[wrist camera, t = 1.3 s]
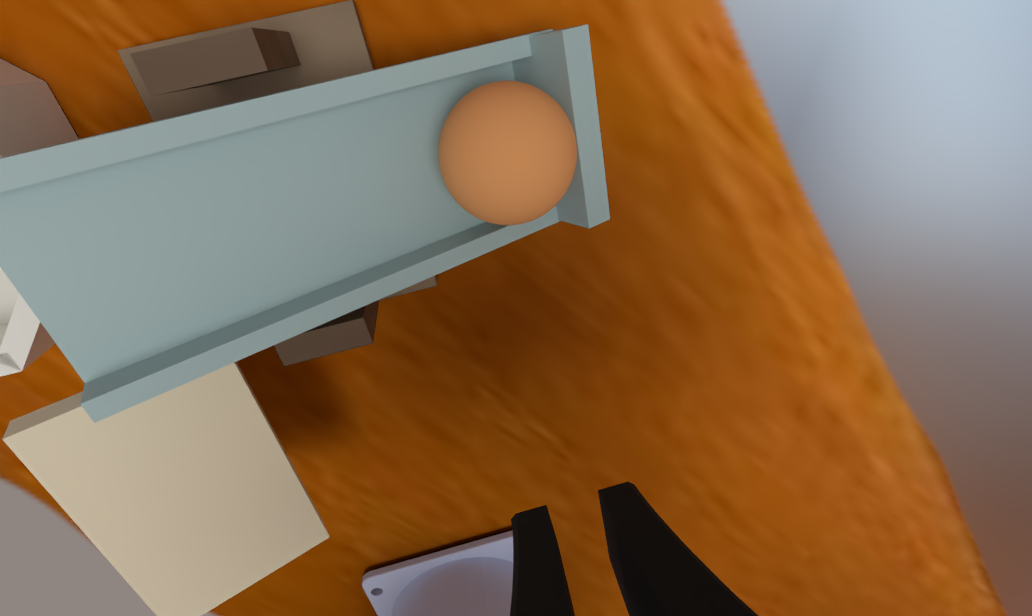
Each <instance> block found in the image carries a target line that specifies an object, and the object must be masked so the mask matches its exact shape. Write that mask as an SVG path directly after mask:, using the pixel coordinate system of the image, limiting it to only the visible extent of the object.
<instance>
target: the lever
mask: <svg viewBox="0 0 1032 616" xmlns="http://www.w3.org/2000/svg"><path fill="white" fill-rule="evenodd" d="M498 81H518V82H523V83H526V84H530V85H533V86H535V87H537V88H539V89H541V90H542V91H544V92H545V93H547V94H548V95H549V96H551V97H552V98H553V99H554V100H555V101H556V102H557V103H558V104H559V105H560V106H561V108H562V109H563V110H564V112H565V113H566V115H567V117H568V119H569V121H570V123H571V125H572V128H573V131H574V134H575V138H576V144H577V162H576V168H575V172H574V176H573V179H572V181H571V184H570V186H569V188H568V190H567V192H566V193H565V195H564V196H563V197H562V199H561V200H560V201H559V202H558V203H557V204H556V206H554V207H553V208H552V209H551V210H550V211H549V212H547V213H546V214H544V215H543V216H541V217H539V218H537V219H535V220H533V221H530V222H527V223H523V224H519V225H498V224H492V223H489V222H486V221H483V220H481V219H478V218H476V217H475V216H473V215H472V214H470V213H468V212H467V211H466V210H464V209H463V208H462V207H461V206H460V205H459V204H458V203H457V202H456V201H455V199H454V198H453V197H452V195H451V194H450V192H449V191H448V189H447V187H446V185H445V183H444V181H443V178H442V175H441V172H440V167H439V158H438V146H439V139H440V134H441V131H442V127H443V125H444V123H445V120H446V118H447V116H448V115H449V113H450V112H451V110H452V109H453V107H454V106H455V105H456V104H457V103H458V102H459V101H460V100H461V99H462V98H463V97H464V96H465V95H466V94H468V93H469V92H471V91H472V90H474V89H476V88H478V87H480V86H482V85H485V84H488V83H492V82H498ZM609 219H610V212H609V204H608V195H607V186H606V178H605V169H604V160H603V151H602V143H601V134H600V125H599V116H598V108H597V99H596V90H595V82H594V73H593V64H592V55H591V47H590V38H589V29H588V24H587V25H582V26H576V27H571V28H566V29H560V30H555V31H553V29H549V30H543V31H538V32H533V33H528V34H524V35H520V36H516V37H511V38H507V39H503V40H499V41H494V42H490V43H486V44H482V45H477V46H473V47H469V48H465V49H460V50H456V51H452V52H447V53H443V54H439V55H435V56H430V57H426V58H422V59H418V60H413V61H409V62H405V63H401V64H396V65H392V66H388V67H384V68H379V69H375V70H371V71H367V72H362V73H358V74H354V75H349V76H345V77H341V78H337V79H332V80H328V81H324V82H320V83H315V84H311V85H307V86H303V87H298V88H294V89H290V90H286V91H281V92H277V93H273V94H269V95H264V96H260V97H256V98H251V99H247V100H243V101H239V102H234V103H230V104H226V105H222V106H217V107H213V108H209V109H205V110H200V111H196V112H192V113H188V114H183V115H179V116H175V117H170V118H166V119H162V120H158V121H153V122H149V123H145V124H141V125H136V126H132V127H128V128H124V129H119V130H115V131H111V132H107V133H102V134H98V135H94V136H90V137H85V138H81V139H77V140H72V141H68V142H64V143H60V144H55V145H51V146H47V147H43V148H38V149H34V150H30V151H26V152H21V153H17V154H13V155H9V156H4V157H0V267H1V269H2V270H3V271H4V273H5V274H6V275H7V277H8V278H9V280H10V281H11V282H12V284H13V285H14V286H15V288H16V289H17V291H18V292H19V293H20V295H21V296H22V297H23V299H24V300H25V302H26V303H27V304H28V306H29V307H30V308H31V310H32V311H33V313H34V314H35V315H36V317H37V318H38V319H39V321H40V322H41V324H42V325H43V326H44V328H45V329H46V330H47V332H48V333H49V335H50V336H51V337H52V339H53V340H54V341H55V343H56V344H57V346H58V347H59V348H60V350H61V351H62V352H63V354H64V355H65V357H66V358H67V359H68V361H69V362H70V363H71V365H72V366H73V368H74V369H75V370H76V372H77V373H78V374H79V376H80V377H81V379H82V380H83V381H84V383H85V386H84V390H83V392H80V393H78V394H75V395H73V396H70V397H68V398H65V399H63V400H60V401H58V402H56V403H53V404H51V405H48V406H46V407H43V408H41V409H38V410H36V411H34V412H31V413H29V414H26V415H24V416H21V417H19V418H16V419H14V420H12V421H10V423H9V425H8V427H7V429H6V432H5V434H4V436H3V439H2V440H3V441H4V442H5V443H6V444H7V445H8V447H9V448H10V449H11V450H12V451H13V452H14V453H15V454H16V456H17V457H18V458H19V459H20V460H21V461H22V462H23V464H24V465H25V466H26V467H27V468H28V469H29V470H30V472H31V473H32V474H33V475H34V476H35V477H36V478H37V480H38V481H39V482H40V483H41V484H42V485H43V486H44V488H45V489H46V490H47V491H48V492H49V493H50V494H51V496H52V497H53V498H54V499H55V500H56V501H57V502H58V504H59V505H60V506H61V507H62V508H63V509H64V510H65V512H66V513H67V514H68V515H69V516H70V517H71V518H72V520H73V521H74V522H75V523H76V524H77V525H78V526H79V528H80V529H81V530H82V531H83V532H84V533H85V534H86V536H87V537H88V538H89V539H90V540H91V541H92V542H93V544H94V545H95V546H96V547H97V548H98V549H99V550H100V552H101V553H102V554H103V555H104V556H105V557H106V558H107V560H108V561H109V562H110V563H111V564H112V565H113V566H114V567H115V569H116V570H117V571H118V572H119V573H120V574H121V576H122V577H123V578H124V579H125V580H126V581H127V582H128V583H129V585H130V586H131V587H132V588H133V589H134V590H135V591H136V592H137V594H138V595H139V596H140V597H141V598H142V599H143V601H144V602H145V603H146V604H147V605H148V606H149V607H150V609H151V610H152V611H153V612H154V613H155V614H156V615H157V616H202V615H203V614H205V613H206V612H208V611H210V610H211V609H213V608H215V607H216V606H218V605H220V604H221V603H223V602H224V601H226V600H228V599H229V598H231V597H233V596H234V595H236V594H238V593H239V592H241V591H242V590H244V589H246V588H247V587H249V586H251V585H252V584H254V583H256V582H257V581H259V580H260V579H262V578H264V577H265V576H267V575H269V574H270V573H272V572H274V571H275V570H277V569H278V568H280V567H282V566H283V565H285V564H287V563H288V562H290V561H291V560H293V559H295V558H296V557H298V556H300V555H301V554H303V553H305V552H306V551H308V550H309V549H311V548H313V547H314V546H316V545H318V544H319V543H321V542H323V541H324V540H326V539H327V538H329V537H330V536H329V534H328V532H327V529H326V527H325V524H324V522H323V520H322V518H321V516H320V514H319V513H318V511H317V509H316V507H315V505H314V503H313V502H312V500H311V498H310V496H309V494H308V492H307V490H306V489H305V487H304V485H303V483H302V481H301V479H300V478H299V476H298V474H297V472H296V470H295V468H294V467H293V465H292V463H291V461H290V459H289V457H288V455H287V454H286V452H285V450H284V448H283V446H282V444H281V443H280V441H279V439H278V437H277V435H276V433H275V432H274V430H273V428H272V426H271V424H270V422H269V421H268V419H267V417H266V415H265V413H264V411H263V409H262V408H261V406H260V404H259V402H258V400H257V398H256V397H255V395H254V393H253V391H252V389H251V387H250V386H249V384H248V382H247V380H246V378H245V376H244V375H243V373H242V371H241V369H240V367H239V365H238V363H237V362H236V361H239V360H241V359H243V358H246V357H248V356H250V355H252V354H255V353H257V352H259V351H262V350H264V349H266V348H269V347H271V346H273V345H276V344H278V343H280V342H282V341H285V340H287V339H289V338H292V337H294V336H296V335H299V334H301V333H303V332H306V331H308V330H310V329H312V328H315V327H317V326H319V325H322V324H324V323H326V322H329V321H331V320H333V319H336V318H338V317H340V316H342V315H345V314H347V313H349V312H352V311H354V310H356V309H359V308H361V307H363V306H366V305H368V304H370V303H372V302H375V301H377V300H379V299H382V298H384V297H386V296H389V295H391V294H393V293H396V292H398V291H400V290H402V289H405V288H407V287H409V286H412V285H414V284H416V283H419V282H421V281H423V280H425V279H428V278H430V277H432V276H435V275H437V274H439V273H442V272H444V271H446V270H449V269H451V268H453V267H455V266H458V265H460V264H462V263H465V262H467V261H469V260H472V259H474V258H476V257H479V256H481V255H483V254H485V253H488V252H490V251H492V250H495V249H497V248H499V247H502V246H504V245H506V244H509V243H511V242H513V241H515V240H518V239H520V238H522V237H525V236H527V235H529V234H532V233H534V232H536V231H539V230H541V229H543V228H545V227H548V226H550V225H552V224H555V223H557V222H559V221H564V222H567V223H571V224H574V225H578V226H582V227H585V228H592V227H594V226H596V225H598V224H600V223H603V222H605V221H607V220H609Z"/></svg>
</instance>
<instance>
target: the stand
mask: <svg viewBox="0 0 1032 616" xmlns="http://www.w3.org/2000/svg"><path fill="white" fill-rule="evenodd" d="M117 51H118V53H119V55H120V57H121V59H122V61H123V63H124V65H125V67H126V69H127V71H128V73H129V75H130V77H131V79H132V81H133V83H134V85H135V87H136V89H137V91H138V93H139V95H140V97H141V99H142V101H143V103H144V105H145V107H146V109H147V111H148V113H149V115H150V117H151V119H152V121H158V120H162V119H166V118H170V117H175V116H179V115H183V114H188V113H192V112H196V111H200V110H205V109H209V108H213V107H217V106H222V105H226V104H230V103H234V102H239V101H243V100H247V99H251V98H256V97H260V96H264V95H269V94H273V93H277V92H281V91H286V90H290V89H294V88H298V87H303V86H307V85H311V84H315V83H320V82H324V81H328V80H332V79H337V78H341V77H345V76H349V75H354V74H358V73H362V72H367V71H371V70H375V69H374V66H373V63H372V59H371V56H370V52H369V49H368V46H367V42H366V39H365V36H364V32H363V29H362V26H361V22H360V19H359V15H358V12H357V9H356V5H355V2H354V1H353V0H349V1H344V2H340V3H335V4H330V5H326V6H321V7H317V8H312V9H307V10H303V11H298V12H293V13H289V14H284V15H279V16H275V17H270V18H265V19H261V20H256V21H252V22H247V23H242V24H238V25H233V26H228V27H224V28H219V29H214V30H210V31H205V32H200V33H196V34H191V35H187V36H182V37H177V38H173V39H168V40H163V41H159V42H154V43H149V44H145V45H140V46H135V47H131V48H126V49H122V50H117ZM434 286H437V279H436V275H435V276H432V277H430V278H428V279H425V280H423V281H421V282H419V283H416V284H414V285H412V286H409V287H407V288H405V289H402V290H400V291H398V292H396V293H393V294H391V295H389V296H386V297H384V298H382V299H379V300H383V299H387V298H391V297H395V296H399V295H403V294H407V293H411V292H414V291H418V290H422V289H426V288H430V287H434ZM379 300H377V301H375V302H372V303H370V304H368V305H366V306H363V307H361V308H359V309H356V310H354V311H352V312H349V313H347V314H345V315H342V316H340V317H338V318H336V319H333V320H331V321H329V322H326V323H324V324H322V325H319V326H317V327H315V328H312V329H310V330H308V331H306V332H303V333H301V334H299V335H296V336H294V337H292V338H289V339H287V340H285V341H282V342H280V343H278V344H276V345H274V347H275V349H276V351H277V353H278V355H279V357H280V359H281V361H282V363H283V365H284V366H287V365H291V364H295V363H298V362H302V361H306V360H310V359H314V358H318V357H322V356H325V355H329V354H333V353H337V352H341V351H345V350H349V349H353V348H356V347H360V346H364V345H368V344H372V343H373V340H374V333H375V325H376V318H377V311H378V304H379Z"/></svg>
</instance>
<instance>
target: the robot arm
mask: <svg viewBox="0 0 1032 616" xmlns="http://www.w3.org/2000/svg"><path fill="white" fill-rule="evenodd" d="M598 493H599V499H600V505H601V511H602V517H603V522H604V528H605V534H606V540H607V546H608V552H609V558H610V561H611V564H612V567H613V570H614V573H615V576H616V578H617V581H618V584H619V587H620V590H621V593H622V596H623V599H624V601H625V604H626V607H627V610H628V613H629V615H630V616H758V615H757V614H756V613H755V612H754V611H752V610H751V609H750V608H749V607H748V606H747V605H746V604H745V603H744V602H743V601H742V600H740V599H739V598H738V597H737V596H736V595H735V594H734V593H733V592H732V591H731V590H730V589H729V588H728V587H727V586H726V585H725V584H724V583H723V582H722V581H720V580H719V579H718V578H717V577H716V576H715V575H714V573H713V572H712V571H711V570H710V569H709V568H708V567H707V566H706V565H705V564H704V563H703V562H702V561H701V560H700V559H699V558H698V557H697V556H696V555H695V554H694V553H693V552H692V551H691V550H690V549H689V548H688V547H687V546H686V545H685V544H684V543H683V542H682V541H681V540H680V539H679V538H678V536H677V535H676V534H675V533H674V532H673V531H672V530H671V529H670V528H669V526H668V525H667V524H666V523H665V522H664V521H663V520H662V519H661V517H660V516H659V515H658V514H657V513H656V512H655V510H654V509H653V508H652V507H651V506H650V504H649V503H648V502H647V501H646V499H645V498H644V497H643V496H642V494H641V493H640V492H639V491H638V489H637V488H636V486H635V485H634V484H632V483H630V482H625V483H622V484H618V485H615V486H611V487H608V488H604V489H601V490H598ZM511 523H512V531H508V532H505V533H501V534H498V535H494V536H491V537H487V538H484V539H480V540H477V541H473V542H470V543H466V544H463V545H459V546H456V547H452V548H449V549H445V550H442V551H438V552H435V553H431V554H428V555H424V556H421V557H417V558H414V559H410V560H407V561H403V562H400V563H396V564H393V565H389V566H386V567H383V568H379V569H376V570H372V571H369V572H367V573H366V574H365V575H364V576H363V578H362V587H363V589H364V591H365V593H366V595H367V597H368V599H369V600H370V602H371V604H372V606H373V608H374V610H375V612H376V613H377V615H378V616H575V614H574V610H573V606H572V602H571V597H570V593H569V589H568V585H567V581H566V576H565V572H564V568H563V564H562V559H561V555H560V551H559V547H558V543H557V539H556V536H555V532H554V529H553V526H552V522H551V519H550V516H549V512H548V509H547V506H546V505H544V506H541V507H537V508H534V509H530V510H527V511H523V512H520V513H516V514H515V515H514V516H513V518H512V519H511Z"/></svg>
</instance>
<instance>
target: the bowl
mask: <svg viewBox="0 0 1032 616" xmlns="http://www.w3.org/2000/svg"><path fill="white" fill-rule="evenodd" d="M77 139H78V137H77V135H76V133H75V132H74V130H73V128H72V126H71V125H70V123H69V121H68V119H67V118H66V116H65V114H64V112H63V111H62V109H61V107H60V106H59V104H58V102H57V100H56V99H55V97H54V95H53V93H52V92H51V90H50V88H49V86H48V85H47V83H46V82H45V81H43V80H41V79H39V78H37V77H35V76H34V75H32V74H30V73H28V72H26V71H24V70H22V69H20V68H18V67H16V66H14V65H12V64H10V63H8V62H6V61H4V60H2V59H1V58H0V157H4V156H9V155H13V154H17V153H21V152H26V151H30V150H34V149H38V148H43V147H47V146H51V145H55V144H60V143H64V142H68V141H72V140H77ZM54 344H55V341H54V340H53V339H52V337H51V336H50V335H49V333H48V332H47V330H46V329H45V328H44V326H43V325H42V324H41V322H40V321H39V319H38V318H37V317H36V315H35V314H34V313H33V311H32V310H31V308H30V307H29V306H28V304H27V303H26V302H25V300H24V299H23V297H22V296H21V295H20V293H19V292H18V291H17V289H16V288H15V286H14V285H13V284H12V282H11V281H10V280H9V278H8V277H7V275H6V274H5V273H4V271H3V270H2V269H1V267H0V376H4V375H8V374H12V373H16V372H20V371H23V370H24V369H25V368H26V367H28V366H29V365H30V364H31V363H32V362H34V361H35V360H36V359H37V358H38V357H40V356H41V355H42V354H43V353H44V352H46V351H47V350H48V349H49V348H51V347H52V346H53V345H54Z"/></svg>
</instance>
